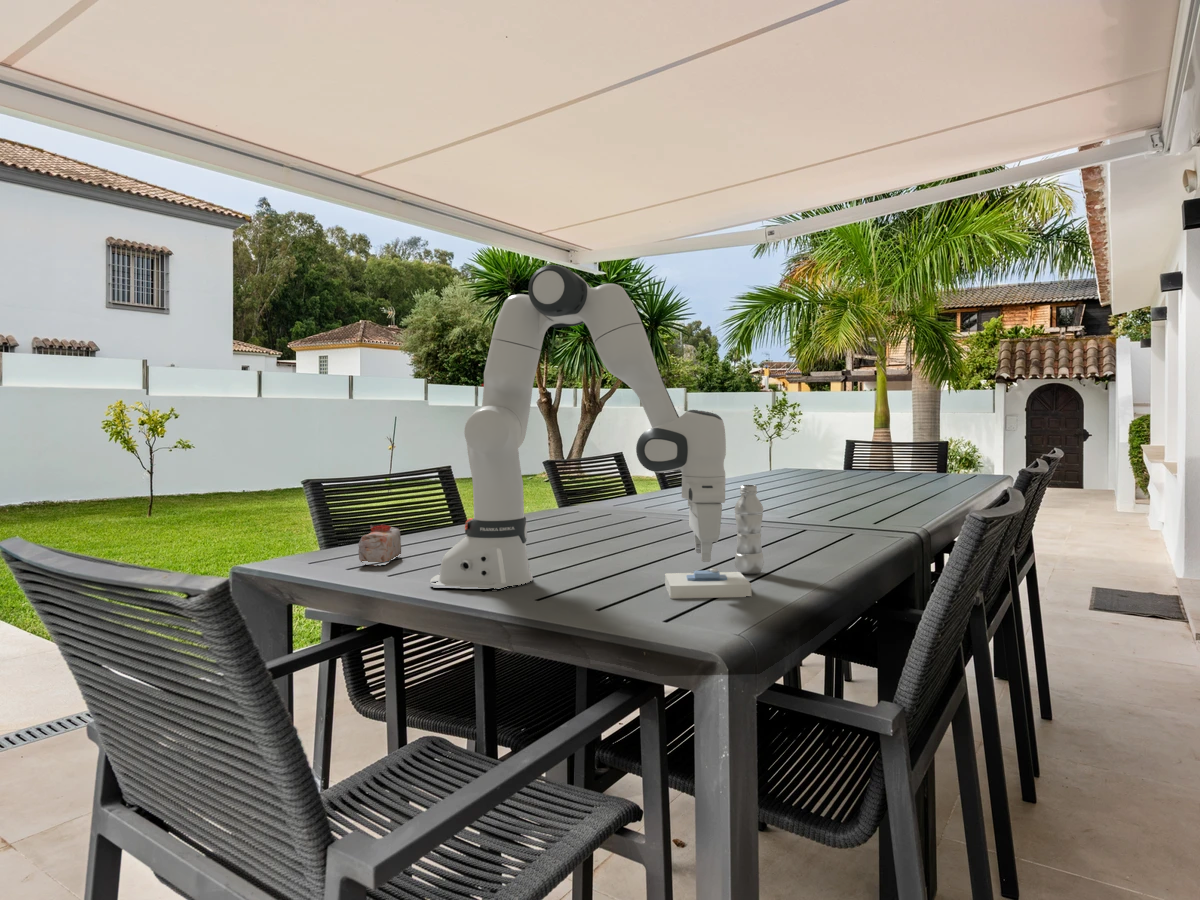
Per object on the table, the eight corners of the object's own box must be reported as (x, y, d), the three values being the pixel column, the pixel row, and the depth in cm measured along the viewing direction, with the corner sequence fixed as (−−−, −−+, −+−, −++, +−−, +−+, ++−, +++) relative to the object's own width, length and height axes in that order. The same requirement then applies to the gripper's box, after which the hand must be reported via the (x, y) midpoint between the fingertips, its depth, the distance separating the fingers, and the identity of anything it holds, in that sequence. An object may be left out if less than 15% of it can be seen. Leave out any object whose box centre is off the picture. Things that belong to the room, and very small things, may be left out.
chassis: (670, 598, 149) (670, 586, 149) (665, 585, 161) (664, 573, 161) (751, 596, 149) (751, 584, 149) (740, 583, 161) (739, 571, 161)
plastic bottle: (729, 574, 171) (727, 486, 170) (745, 569, 176) (744, 483, 175) (753, 577, 167) (752, 487, 166) (769, 572, 172) (768, 485, 171)
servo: (687, 593, 154) (687, 570, 154) (686, 589, 157) (686, 567, 157) (727, 592, 154) (727, 570, 154) (725, 589, 157) (725, 567, 156)
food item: (388, 567, 188) (387, 528, 187) (356, 568, 188) (355, 528, 187) (404, 557, 201) (402, 520, 201) (374, 557, 201) (373, 521, 201)
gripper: (682, 484, 165) (682, 547, 165) (693, 494, 144) (693, 566, 145) (711, 485, 165) (710, 548, 165) (726, 495, 144) (725, 566, 145)
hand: (702, 556), depth 155 cm, fingers open, 8 cm apart
